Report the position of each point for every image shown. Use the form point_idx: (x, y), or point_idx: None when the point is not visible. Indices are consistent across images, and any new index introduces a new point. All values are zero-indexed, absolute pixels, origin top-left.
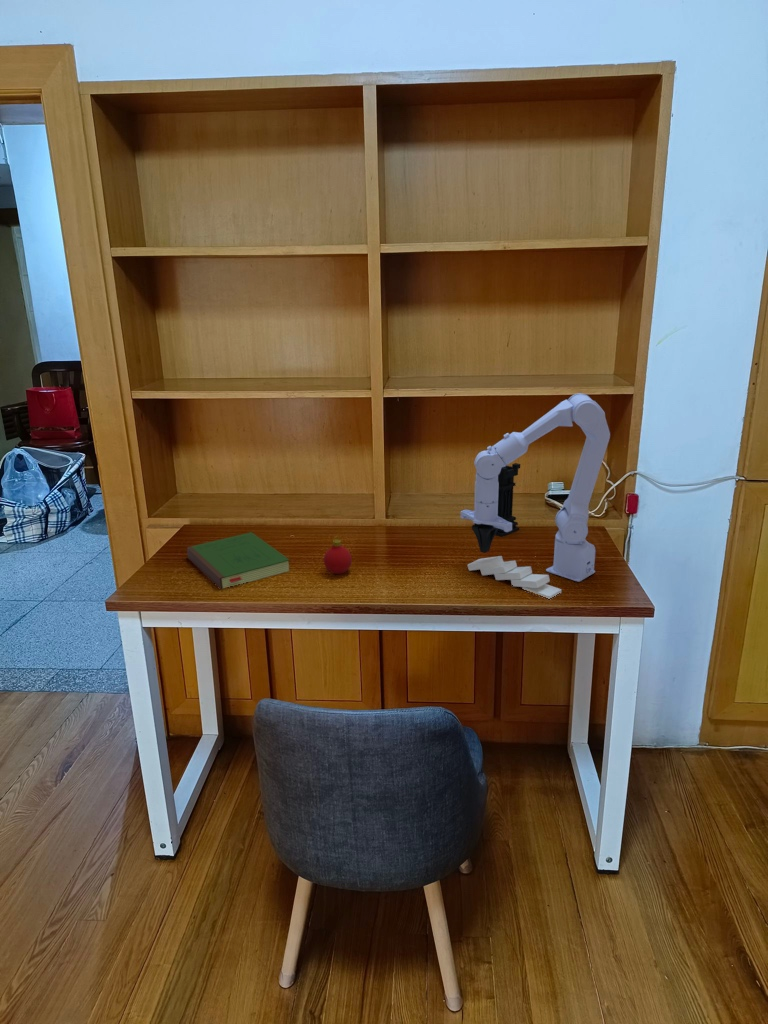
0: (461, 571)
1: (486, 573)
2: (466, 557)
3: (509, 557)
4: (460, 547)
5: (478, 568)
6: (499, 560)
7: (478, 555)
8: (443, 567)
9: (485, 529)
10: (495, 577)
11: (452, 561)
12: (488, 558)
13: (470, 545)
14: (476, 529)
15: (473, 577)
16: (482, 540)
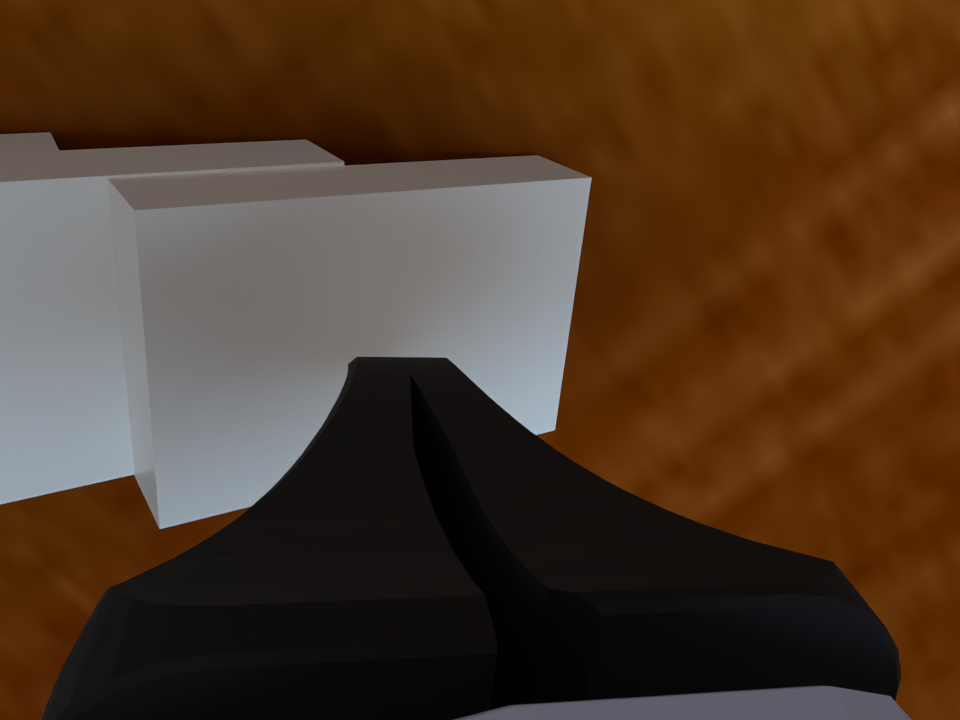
0: (610, 69)
1: (220, 149)
2: (756, 439)
3: None
4: (918, 578)
5: (381, 169)
6: (139, 430)
7: None
8: (879, 17)
9: (150, 697)
10: (47, 141)
11: (850, 251)
12: None
13: None
14: (622, 576)
15: (361, 4)
16: (389, 459)
